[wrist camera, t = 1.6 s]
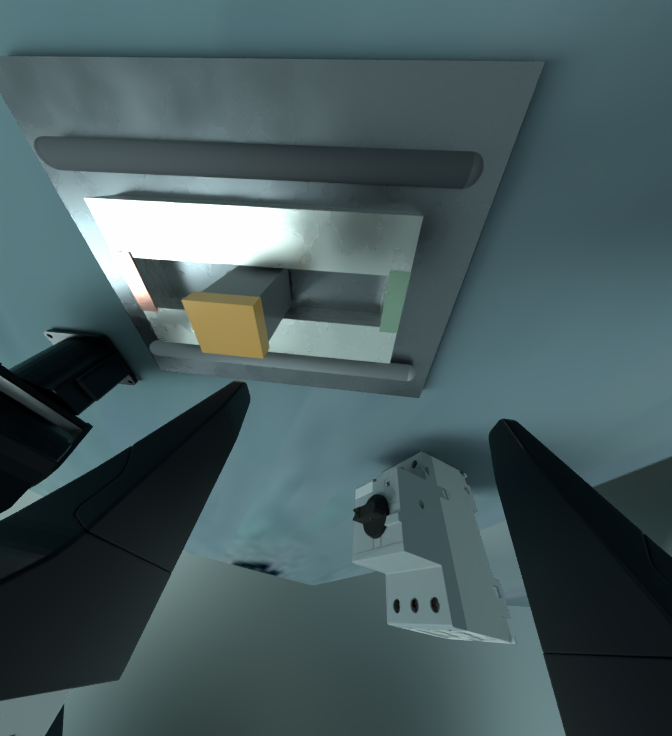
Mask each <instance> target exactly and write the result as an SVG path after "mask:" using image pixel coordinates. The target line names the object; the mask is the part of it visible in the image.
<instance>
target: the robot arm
mask: <svg viewBox="0 0 672 736" xmlns="http://www.w3.org/2000/svg"><path fill="white" fill-rule="evenodd" d="M44 335H45V336H46V337H47V338H48V339H49V340H50V342H51V343H52V344H53V346H51V347H49V348H47V349H46V350H44V351H42V352H40V353H38V354H36V355H34V356H33V357H31V358H29V359H27V360H25V361H23V362H22V363H20V364H18V365H16V366H14V367H12V368H11V369H9V370H8V369H7V368H5V367H4V366H2V365H1V364H2V363H0V513H2V512H4V511H6V510H7V509H9V508H10V507H12V506H13V505H14V503H15V502H16V501H17V500H18V499H19V498H20V497H21V496H22V495H23V494H24V493H25V492H26V491H27V490H28V489H30V488H31V487H33V486H35V485H37V484H38V483H40V482H41V481H43V480H44V479H46V478H47V477H48V476H49V475H51V474H52V473H53V472H54V471H55V470H56V469H58V468H59V467H60V466H61V465H62V463H63V462H64V461H65V460H66V459H67V458H68V456H69V455H70V454H71V453H72V452H73V450H74V449H75V448H76V447H77V446H78V444H79V443H80V442H81V441H82V439H83V438H84V437H85V436H86V435H87V433H88V432H89V431H90V430H91V429H92V427H93V426H92V425H91V424H89V423H86V422H84V421H83V420H81V419H80V418H78V417H77V416H75V415H79V414H80V413H82V412H83V411H84V410H85V409H86V408H88V407H89V406H90V405H91V404H92V403H94V402H95V401H98V400H99V399H101V398H102V397H103V396H104V395H105V394H107V393H108V392H109V391H110V390H111V389H113V388H114V387H115V386H116V385H117V384H126V385H135V384H136V383H137V382H138V381H137V379H136V378H135V376H134V375H133V373H132V372H131V370H130V369H129V368H128V366H127V365H126V363H125V362H124V360H123V359H122V357H121V356H120V355H119V353H118V352H117V350H116V349H115V347H114V346H113V344H112V343H111V341H110V340H109V339H108V338H107V337H106V336H104V335H102V334H92V333H81V332H71V331H61V330H51V329H50V330H47V331H45V332H44ZM249 404H250V394H249V390H248V387H247V384H246V383H245V382H241V381H233V382H231V383H230V384H228V385H227V386H225V387H223V388H222V389H220V390H219V391H217V392H216V393H214V394H212V395H211V396H209V397H208V398H206V399H204V400H203V401H201V402H200V403H198V404H197V405H195V406H193V407H192V408H190V409H189V410H187V411H186V412H184V413H182V414H181V415H179V416H178V417H176V418H174V419H173V420H171V421H170V422H168V423H167V424H165V425H163V426H162V427H160V428H159V429H157V430H155V431H154V432H152V433H151V434H149V435H148V436H146V437H144V438H143V439H141V440H140V441H138V442H137V443H135V444H134V445H133V446H130V447H128V448H127V449H125V450H124V451H122V452H121V453H119V454H117V455H116V456H114V457H113V458H111V459H109V460H108V461H106V462H104V463H103V464H101V465H99V466H98V467H96V468H94V469H93V470H91V471H89V472H87V473H86V474H84V475H82V476H80V477H79V478H77V479H75V480H73V481H72V482H70V483H68V484H66V485H64V486H63V487H61V488H59V489H57V490H55V491H54V492H52V493H50V494H48V495H46V496H45V497H43V498H41V499H39V500H37V501H36V502H34V503H32V504H31V505H29V506H27V507H25V508H23V509H21V510H19V511H18V512H16V513H14V514H12V515H11V516H9V517H7V518H5V519H3V520H1V521H0V736H62V731H63V715H64V714H63V713H64V702H65V701H66V699H67V697H68V696H69V694H70V692H71V691H72V689H73V688H77V687H83V686H89V685H94V684H99V683H106V682H111V681H117V680H119V679H120V677H121V675H122V673H123V672H124V670H125V667H126V666H127V664H128V662H129V660H130V658H131V655H132V653H133V651H134V649H135V647H136V645H137V643H138V641H139V639H140V637H141V635H142V633H143V631H144V629H145V627H146V625H147V623H148V621H149V619H150V617H151V614H152V612H153V610H154V608H155V606H156V604H157V602H158V600H159V598H160V596H161V594H162V592H163V590H164V588H165V586H166V584H167V582H168V580H169V578H170V575H171V572H172V571H173V569H174V567H175V565H176V563H177V560H178V559H179V557H180V555H181V553H182V551H183V549H184V547H185V544H186V542H187V540H188V538H189V536H190V534H191V532H192V530H193V528H194V526H195V524H196V522H197V520H198V518H199V516H200V514H201V512H202V510H203V508H204V506H205V504H206V501H207V499H208V497H209V495H210V493H211V491H212V489H213V487H214V485H215V483H216V481H217V479H218V477H219V475H220V473H221V471H222V469H223V467H224V465H225V463H226V460H227V458H228V456H229V454H230V452H231V450H232V448H233V446H234V444H235V442H236V440H237V437H238V435H239V432H240V429H241V426H242V423H243V421H244V418H245V415H246V412H247V409H248V407H249ZM489 444H490V450H491V457H492V463H493V469H494V475H495V480H496V484H497V488H498V492H499V496H500V499H501V503H502V506H503V510H504V514H505V517H506V521H507V524H508V528H509V532H510V535H511V538H512V542H513V546H514V550H515V553H516V557H517V561H518V564H519V568H520V571H521V575H522V579H523V582H524V586H525V589H526V593H527V597H528V600H529V604H530V607H531V611H532V614H533V618H534V622H535V625H536V629H537V633H538V636H539V639H540V643H541V647H542V650H543V652H544V653H543V655H544V658H545V662H546V666H547V669H548V672H549V676H550V680H551V684H552V687H553V691H554V694H555V698H556V701H557V705H558V709H559V712H560V716H561V719H562V723H563V727H564V730H565V734H566V736H672V557H671V556H670V555H669V554H668V553H667V552H665V551H664V550H663V549H662V548H661V547H660V546H658V545H657V544H656V543H655V542H654V541H653V540H652V539H651V538H649V537H648V536H647V535H646V534H643V533H642V531H641V530H640V529H639V528H638V527H637V526H636V525H634V524H633V523H632V522H631V521H630V520H629V519H628V518H626V517H625V516H624V515H623V514H622V513H621V512H620V511H619V510H617V509H616V508H615V507H614V506H613V505H612V504H611V503H609V502H608V501H607V500H606V499H605V498H604V497H602V496H601V495H600V494H599V493H598V492H597V491H596V490H595V489H593V488H592V487H591V486H590V485H589V484H588V483H587V482H585V481H584V480H583V479H582V478H581V477H580V476H579V475H577V474H576V473H575V472H574V471H573V470H572V469H571V468H570V467H568V466H567V465H566V464H565V463H564V462H563V461H562V460H560V459H559V458H558V457H557V456H556V455H555V454H554V453H552V452H551V451H550V450H549V449H548V448H547V447H546V446H544V445H543V444H542V443H541V442H540V441H539V440H538V439H536V438H535V437H534V436H533V435H532V434H531V433H530V432H528V431H527V430H526V429H525V428H524V427H523V426H522V425H521V424H519V423H518V422H517V421H515V420H510V419H500V420H499V421H498V422H497V424H496V425H495V426H494V427H493V429H492V430H491V431H490V433H489Z"/></svg>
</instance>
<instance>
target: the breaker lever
mask: <svg viewBox="0 0 672 736" xmlns="http://www.w3.org/2000/svg"><path fill="white" fill-rule="evenodd" d="M181 301H182V303H183V306H184V308H185V310H186V313H187V315H188V318H189V320H190V323H191V325H192V328H193V330H194V333H195V335H196V338H197V340H198V342H199V345H200V347H201V350H202V352H203V353H212V354H222V355H232V356H242V357H252V358H262V359H264V357H265V355H266V354H267V352H268V350H269V348H270V347H269V340H270V339H271V337H272V336H273V334H274V332H275V331H276V329H277V327H278V326H279V324H280V322H281V321H282V319H283V317H284V316H285V314H286V313H287V311H288V309H289V308H290V306H291V294H290V283H289V272H288V269H287V268H273V267H260V266H246V265H239V266H237V267H236V268H234V269H233V270H231V271H230V272H229V273H227V274H226V275H224V276H223V277H221V278H220V279H219V280H217V281H216V282H214V283H213V284H212V285H210V286H209V287H207V288H206V289H204V290H203V291H202V292H192V293H191V294H189V295H188V296H186V297H185V298H183V299H182V300H181Z"/></svg>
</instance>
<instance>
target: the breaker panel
mask: <svg viewBox="0 0 672 736" xmlns="http://www.w3.org/2000/svg"><path fill="white" fill-rule="evenodd" d="M544 63H545V61H450V60H352V59H254V58H155V57H57V56H0V93H1V95H2V97H3V99H4V100H5V102H6V104H7V106H8V107H9V109H10V111H11V112H12V114H13V116H14V118H15V119H16V121H17V123H18V125H19V126H20V128H21V130H22V131H23V133H24V135H25V137H26V138H27V140H28V142H29V144H30V145H31V147H32V149H33V150H34V152H35V154H36V156H37V157H38V159H39V161H40V163H41V164H42V166H43V168H44V169H45V171H46V173H47V175H48V176H49V178H50V180H51V182H52V183H53V185H54V187H55V188H56V190H57V192H58V194H59V195H60V197H61V199H62V200H63V202H64V204H65V206H66V207H67V209H68V211H69V213H70V214H71V216H72V218H73V219H74V221H75V223H76V225H77V226H78V228H79V230H80V232H81V233H82V235H83V237H84V238H85V240H86V242H87V244H88V245H89V247H90V249H91V251H92V252H93V254H94V256H95V257H96V259H97V261H98V263H99V264H100V266H101V268H102V270H103V271H104V273H105V275H106V276H107V278H108V280H109V282H110V283H111V285H112V287H113V289H114V290H115V292H116V294H117V295H118V297H119V299H120V301H121V302H122V304H123V306H124V308H125V309H126V311H127V313H128V314H129V316H130V318H131V320H132V321H133V323H134V325H135V326H136V328H137V330H138V332H139V333H140V335H141V337H142V339H143V340H144V342H145V344H146V345H147V347H148V349H149V351H150V344H151V343H152V342H154V341H156V340H159V341H164V342H175V343H185V344H195V345H199V342H198V340H197V338H196V335H195V333H194V330H193V328H192V325H191V323H190V320H189V318H188V315H187V313H186V310H185V308H184V306H183V303H182V301H181V300H182V299H183V298H185V297H186V296H188V295H189V294H191V293H192V292H202V291H203V290H204V289H206V288H207V287H209V286H210V285H212V284H213V283H214V282H216V281H217V280H219V279H220V278H221V277H223V276H224V275H226V274H227V273H229V272H230V271H231V270H233V269H234V268H236V267H237V266H239V265H246V266H260V267H273V268H287V269H288V272H289V283H290V294H291V306H290V308H289V309H288V311H287V313H286V314H285V316H284V317H283V319H282V321H281V322H280V324H279V326H278V327H277V329H276V331H275V332H274V334H273V336H272V337H271V339H270V340H269V347H270V348H269V350H268V352H277V353H287V354H297V355H308V356H318V357H328V358H338V359H348V360H359V361H369V362H379V363H389V364H390V363H398V364H408V365H411V366H413V367H414V369H415V372H416V374H415V377H414V378H413V379H412V380H410V381H400V380H390V379H380V378H371V377H361V376H351V375H341V374H332V373H322V372H312V371H302V370H293V369H283V368H273V367H263V366H254V365H244V364H234V363H224V362H214V361H205V360H195V359H185V358H175V357H166V356H157V355H154V354H153V353H152V352H151V351H150V352H151V354H152V356H153V358H154V359H155V361H156V363H157V364H158V366H159V368H160V370H162V371H171V372H181V373H190V374H199V375H209V376H218V377H227V378H237V379H246V380H256V381H265V382H274V383H284V384H293V385H302V386H312V387H321V388H330V389H340V390H349V391H358V392H368V393H377V394H387V395H396V396H405V397H415V398H419V397H420V394H421V391H422V389H423V386H424V383H425V381H426V378H427V375H428V373H429V370H430V367H431V365H432V362H433V359H434V357H435V354H436V351H437V349H438V346H439V343H440V341H441V338H442V335H443V333H444V330H445V327H446V325H447V322H448V319H449V317H450V314H451V311H452V309H453V306H454V303H455V301H456V298H457V295H458V293H459V290H460V287H461V285H462V282H463V279H464V277H465V274H466V271H467V269H468V266H469V263H470V261H471V258H472V255H473V253H474V250H475V247H476V245H477V242H478V239H479V237H480V234H481V231H482V229H483V226H484V223H485V221H486V218H487V215H488V213H489V210H490V207H491V205H492V202H493V199H494V197H495V194H496V191H497V189H498V186H499V183H500V181H501V178H502V175H503V173H504V170H505V167H506V165H507V162H508V159H509V157H510V154H511V151H512V149H513V146H514V143H515V141H516V138H517V135H518V133H519V130H520V127H521V125H522V122H523V119H524V117H525V114H526V111H527V109H528V106H529V103H530V101H531V98H532V95H533V93H534V90H535V87H536V85H537V82H538V79H539V77H540V74H541V71H542V69H543V66H544ZM40 136H55V137H83V138H111V139H139V140H167V141H195V142H223V143H251V144H279V145H307V146H335V147H363V148H391V149H419V150H447V151H473V152H477V153H479V154H480V155H481V156H482V158H483V162H484V167H483V171H482V174H481V176H480V178H479V179H478V181H477V182H476V183H475V184H473V185H472V186H471V187H469V188H465V189H451V188H430V187H408V186H387V185H365V184H344V183H322V182H301V181H279V180H258V179H236V178H215V177H193V176H172V175H150V174H129V173H107V172H86V171H64V170H58V169H55V168H52V167H50V166H49V165H47V164H46V163H45V162H43V161H42V160H41V159H40V157H39V156H38V155H37V153H36V151H35V149H34V141H35V139H36V138H37V137H40Z"/></svg>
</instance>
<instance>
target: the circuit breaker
mask: <svg viewBox="0 0 672 736" xmlns="http://www.w3.org/2000/svg"><path fill="white" fill-rule="evenodd" d="M413 465H414V468H413ZM466 477H467V475H466V474H465V473H463V474H461V473H460V471H459V470H457V469H455V468H453V467H451V466H450V465H448V464H446V463H444V462H442V461H440V460H438V459H436V458H434V457H432V456H430V455H429V454H427V453H425V452H423V451H421V452H420V453H418V454H416V455H414V456H412V457H410V458H408V459H406V460H405V461H403V462H401V463H399V464H397V465H395V466H393V467H392V468H390V469H388V470H386V471H384V472H382V475H381V476H379V477H377V480H376V479H373V480H371V481H369V482H368V483H366V484H364V485H362V486H360V487H358V488H356V497H355V509H354V510H353V511H354V512H355V516H354V518H353V521H354V536H353V558H352V562H353V563H355V564H358V565H361V566H364V567H367V568H370V569H373V570H376V571H380V572H383V573H385V574H386V595H387V623H388V625H392V626H396V627H400V628H404V629H408V630H412V631H416V632H421V633H425V634H429V635H433V636H437V637H443V638H446V639H457V640H470V641H474V639H475V640H479V641H483V642H497V643H510V644H517V641H516V638H515V637H511V634H510V630H509V626H508V622H507V618H510V614H509V610H508V607H507V604H506V601H505V597H504V594H503V591H502V588H501V584H500V581H499V580H498V579H495V578H493V576H492V572H491V569H490V566H489V562H488V559H487V556H486V552H485V549H484V546H483V542H482V539H481V536H480V532H479V529H478V525H477V522H476V519H475V515H474V513H475V512H478V510H477V507H476V504H475V501H474V498H473V494H472V491H471V488H470V486H469V485H467V484H466V481H465V478H466ZM464 488H466V489H467V491H468V493H466V492H465V489H464ZM493 586H494V587H496V588H497V591H498V595H499V597H496V595H495V592H494V588H493Z"/></svg>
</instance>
